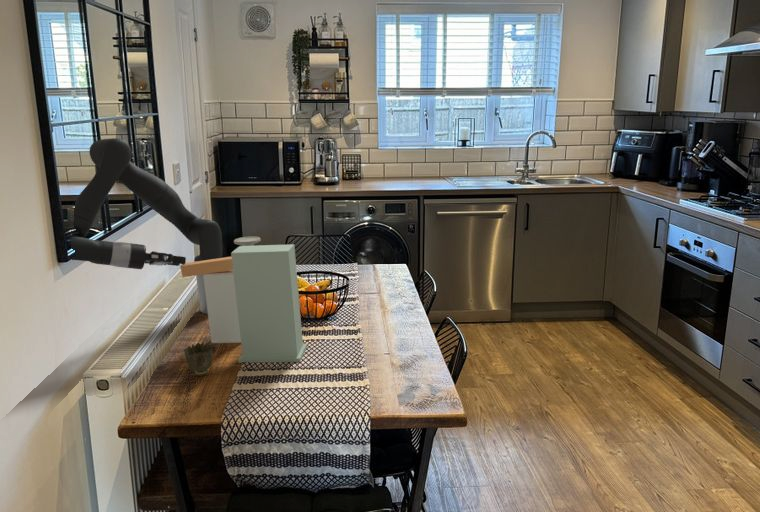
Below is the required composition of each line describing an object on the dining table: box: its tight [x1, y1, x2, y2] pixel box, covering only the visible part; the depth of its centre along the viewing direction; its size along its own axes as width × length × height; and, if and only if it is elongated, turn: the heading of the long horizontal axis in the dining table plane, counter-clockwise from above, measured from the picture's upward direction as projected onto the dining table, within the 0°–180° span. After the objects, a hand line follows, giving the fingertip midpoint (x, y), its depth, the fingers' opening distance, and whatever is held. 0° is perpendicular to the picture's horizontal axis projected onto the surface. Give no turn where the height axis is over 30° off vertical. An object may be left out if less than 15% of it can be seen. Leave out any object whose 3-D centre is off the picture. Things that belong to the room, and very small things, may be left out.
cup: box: [183, 342, 213, 377], centre depth 169 cm, size 8×7×8 cm
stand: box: [230, 243, 308, 364], centre depth 177 cm, size 11×18×32 cm, turn 86°
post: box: [203, 270, 241, 344], centre depth 191 cm, size 5×10×22 cm, turn 86°
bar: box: [179, 256, 233, 278], centre depth 189 cm, size 4×26×4 cm, turn 89°
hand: (182, 261), depth 193 cm, fingers open, 8 cm apart
